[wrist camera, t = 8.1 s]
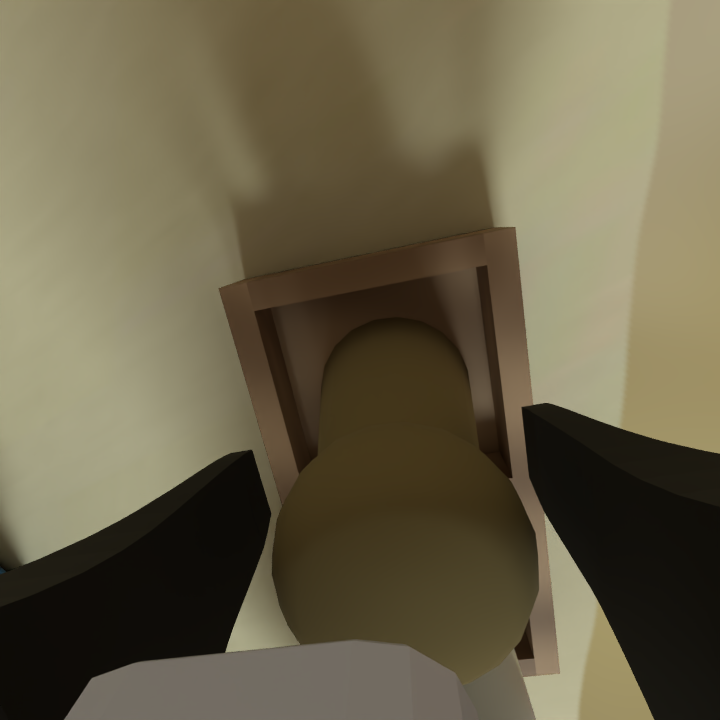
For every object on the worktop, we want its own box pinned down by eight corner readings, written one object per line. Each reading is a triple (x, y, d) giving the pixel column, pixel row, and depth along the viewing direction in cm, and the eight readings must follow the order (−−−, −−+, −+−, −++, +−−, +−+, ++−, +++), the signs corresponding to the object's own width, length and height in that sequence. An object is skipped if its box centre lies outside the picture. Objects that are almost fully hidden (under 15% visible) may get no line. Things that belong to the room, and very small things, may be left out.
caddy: (538, 618, 21) (559, 673, 19) (343, 638, 23) (337, 693, 20) (494, 227, 16) (515, 227, 14) (244, 279, 17) (218, 288, 15)
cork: (416, 286, 16) (469, 387, 6) (497, 408, 18) (661, 674, 7) (291, 370, 18) (150, 578, 7) (375, 479, 19) (361, 793, 8)
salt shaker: (492, 601, 20) (584, 929, 11) (376, 614, 21) (366, 934, 11) (477, 500, 19) (568, 778, 9) (352, 517, 20) (317, 792, 10)
